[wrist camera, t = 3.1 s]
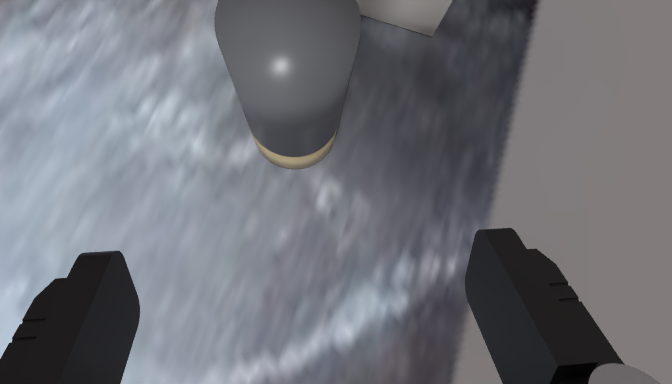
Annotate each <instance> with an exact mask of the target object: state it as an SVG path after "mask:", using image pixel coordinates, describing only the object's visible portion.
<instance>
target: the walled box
mask: <svg viewBox="0 0 672 384" xmlns="http://www.w3.org/2000/svg"><path fill="white" fill-rule="evenodd" d="M356 1H357V4H358V7H359V10H360V15H363V16H366V17H369V18H373V19H376V20H379V21H382V22H386V23H389V24H392V25H395V26H399V27H402V28H405V29H408V30H412V31H415V32H418V33H421V34H425V35H428V36H431V37H433V35H434V33H435V31H436V29H437V28H438V26H439V24H440V22H441V21H442V19H443V17H444V15H445V13H446V12H447V10H448V8H449V6H450V4H451V3H452V1H453V0H356Z"/></svg>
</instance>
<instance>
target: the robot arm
mask: <svg viewBox="0 0 672 384" xmlns="http://www.w3.org/2000/svg"><path fill="white" fill-rule="evenodd" d="M465 290H466V296H467V300H468V302H469V305H470V307H471V310H472V312H473V314H474V317H475V319H476V321H477V324H478V326H479V328H480V331H481V333H482V336H483V338H484V340H485V343H486V345H487V347H488V350H489V352H490V354H491V357H492V359H493V362H494V364H495V366H496V369H497V371H498V373H499V376H500V378H501V380H502V383H503V384H660V383H659V382H658V381H656V380H655V379H654V378H652V377H651V376H649V375H648V374H646V373H644V372H643V371H641V370H638V369H636V368H634V367H631V366H627V365H625V364H624V363H623V362H622V361H621V359H620V358H619V356H618V355H617V354H616V352H615V351H614V349H613V348H612V346H611V345H610V343H609V342H608V340H607V339H606V337H605V336H604V334H603V333H602V332H601V330H600V329H599V327H598V326H597V324H596V323H595V321H594V320H593V318H592V317H591V315H590V314H589V312H588V311H587V309H586V308H585V307H584V305H583V304H582V302H579V300H578V296H577V295H576V293H575V292H574V290H573V289H572V287H571V286H568V281H567V280H566V279H565V277H564V276H563V274H562V273H561V271H560V270H559V268H558V267H557V265H556V264H555V263H554V262H552V261H551V260H550V259H549V258H547V257H546V256H545V255H544V254H542V253H541V252H540V251H538V250H537V249H526V247H525V246H524V244H523V243H522V241H521V239H520V238H519V236H518V235H517V233H516V232H515V231H514V230H513V229H512V228H502V229H485V230H478V231H477V232H476V234H475V237H474V242H473V246H472V250H471V254H470V259H469V263H468V267H467V272H466V276H465ZM139 317H140V305H139V299H138V295H137V292H136V290H135V287H134V284H133V281H132V278H131V276H130V273H129V270H128V267H127V264H126V262H125V259H124V256H123V254H122V253H121V252H120V251H106V252H89V253H82V254H80V255H79V256H78V258H77V259H76V261H75V263H74V265H73V267H72V269H71V271H70V273H69V275H68V277H67V278H59V279H55V280H53V281H52V282H51V283H50V284H49V285H48V286H47V287H46V288H45V289H44V290H43V291H42V292H41V293H40V294H38V295H37V296H36V297H35V298H34V300H33V302H32V304H31V305H30V307H29V309H28V311H27V313H26V314H25V316H24V318H23V323H22V324H20V325H19V327H18V329H17V330H16V332H15V334H14V336H13V337H12V339H13V340H12V343H9V345H8V346H7V348H6V350H5V352H4V354H3V355H2V357H1V359H0V384H120V383H121V380H122V376H123V373H124V370H125V367H126V363H127V360H128V357H129V354H130V350H131V347H132V344H133V340H134V337H135V334H136V331H137V327H138V324H139Z"/></svg>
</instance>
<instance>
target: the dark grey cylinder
mask: <svg viewBox="0 0 672 384" xmlns="http://www.w3.org/2000/svg"><path fill="white" fill-rule="evenodd" d="M215 32H216V37H217V41H218V44H219V47H220V50H221V52H222V55H223V58H224V60H225V63H226V66H227V68H228V71H229V74H230V76H231V79H232V82H233V84H234V87H235V90H236V92H237V95H238V97H239V100H240V103H241V105H242V108H243V111H244V113H245V116H246V119H247V121H248V124H249V127H250V129H251V132H252V135H253V137H254V140H255V143H256V145H257V147H258V149H259V151H260V152H261V153H262V155H263V156H264V157H265V158H266V159H267V160H269V161H270V162H271V163H273V164H275V165H277V166H279V167H282V168H286V169H304V168H307V167H310V166H312V165H315V164H316V163H318V162H319V161H321V160H322V159H323V158H324V157H325V156H326V155H327V154H328V152H329V151H330V149H331V147H332V145H333V143H334V140H335V136H336V132H337V128H338V124H339V120H340V116H341V112H342V108H343V104H344V100H345V96H346V92H347V88H348V84H349V80H350V76H351V72H352V68H353V64H354V60H355V56H356V52H357V49H358V45H359V40H360V36H361V15H360V10H359V7H358V4H357V1H356V0H218V4H217V7H216V12H215Z"/></svg>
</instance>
